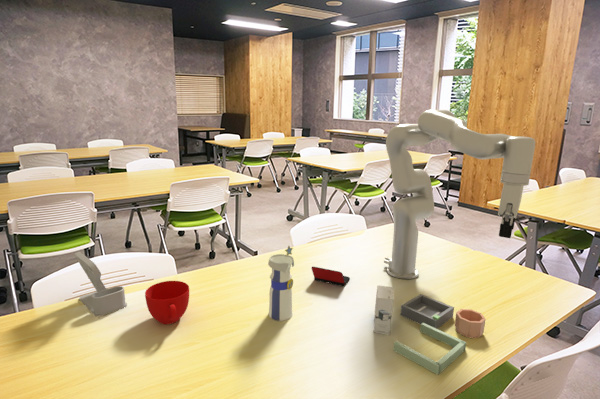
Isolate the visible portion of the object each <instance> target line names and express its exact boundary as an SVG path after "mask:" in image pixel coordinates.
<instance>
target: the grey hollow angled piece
mask: <svg viewBox="0 0 600 399" xmlns="http://www.w3.org/2000/svg"><path fill="white" fill-rule="evenodd" d="M73 254H74V257H75V259H76V260H77V261H78V263H79V265H80V266H81V269H82V270H83V271H84V273H85V274H86V276H87V278H88V280H89V281H90V282H91V284H92V286H93V287H94V289H95V290H96V291H94V292H90V293H86V294H84V295H81V296H80V297H79V301H80V302H81V303H82V305H84V306H85V307H86V308H87V309H88V310H89V311H90V313H92V315H94V316H95V317H97V316H99V317H102V315H103V316H104V315H107V314H111V313H113V311H114V312H116V310H117V311H119V309H120V310H122V309H125V308H126V307H127V306H128V304H127V302H126V295H125V288H124V287H123V286H121V285H120V286H117V285H116V286H114V287H110V288H106V286H105V284H104V283H103V281H102V280H101V276H102V273H101V271H100V269H99V268H98V266H97V265H96V263H95V262H93V261H92V260H91V259H90V258H88V257H87V256H86V255H85V254H83V253H82V252H81V251H77V252H75V253H73ZM124 307H125V308H124ZM110 312H111V313H110Z"/></svg>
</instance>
